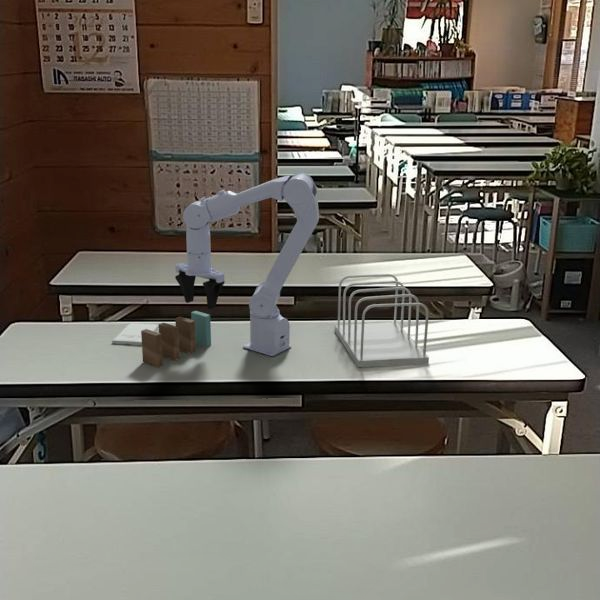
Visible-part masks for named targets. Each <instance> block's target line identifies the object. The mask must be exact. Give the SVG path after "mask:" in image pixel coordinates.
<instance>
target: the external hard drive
mask: <svg viewBox="0 0 600 600" xmlns="http://www.w3.org/2000/svg"><path fill="white" fill-rule="evenodd" d="M158 328H159V324H153V323H137V322H130V323H128V324H127V325H126V326H125V327H124V329H122V330H121V331H120V332H119V333H118V334H117V335H116V336H115V337H114V338H113V339H112V341H111V343H117V344H116V345H130V346H141V345H142V337H141V331H142V330H145V329H148V330H151V331H154V332H155V331H156V332H158V330H159V329H158ZM157 329H158V330H157Z"/></svg>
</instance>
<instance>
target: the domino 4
mask: <svg viewBox="0 0 600 600" xmlns="http://www.w3.org/2000/svg"><path fill="white" fill-rule="evenodd" d="M190 315H191V316H190V320H194V321H195V343H197V344H196V345H200V346H204V347H210V346H211V345H212V329H211V327H212V326H211V314H208V313H205V312H201V311H198V310H194V311H191V312H190Z"/></svg>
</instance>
